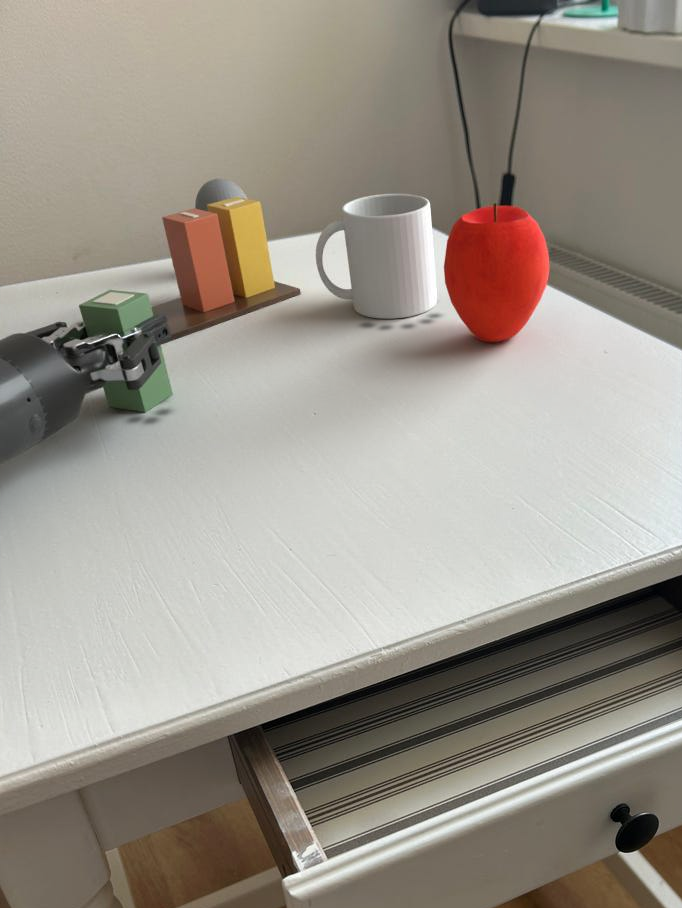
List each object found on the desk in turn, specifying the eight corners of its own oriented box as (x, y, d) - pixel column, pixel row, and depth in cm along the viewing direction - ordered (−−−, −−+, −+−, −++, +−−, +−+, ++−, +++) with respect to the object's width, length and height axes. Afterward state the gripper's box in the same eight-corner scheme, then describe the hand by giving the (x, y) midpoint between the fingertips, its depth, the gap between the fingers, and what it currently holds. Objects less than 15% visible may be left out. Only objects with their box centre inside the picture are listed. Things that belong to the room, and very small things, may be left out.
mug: (451, 295, 105) (444, 196, 99) (409, 325, 99) (400, 221, 92) (364, 285, 109) (353, 189, 103) (318, 314, 102) (303, 213, 96)
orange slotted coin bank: (182, 305, 105) (161, 216, 99) (212, 294, 107) (194, 207, 102) (203, 312, 103) (183, 221, 97) (234, 302, 105) (216, 212, 99)
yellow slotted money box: (224, 291, 108) (206, 203, 102) (253, 281, 110) (237, 195, 105) (246, 298, 106) (229, 209, 100) (275, 288, 108) (260, 200, 102)
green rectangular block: (108, 407, 86) (78, 303, 80) (137, 389, 89) (109, 288, 83) (145, 412, 85) (117, 308, 79) (173, 394, 88) (147, 292, 82)
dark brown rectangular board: (96, 331, 102) (95, 325, 101) (251, 279, 113) (250, 273, 112) (144, 350, 97) (143, 344, 96) (301, 293, 108) (300, 288, 108)
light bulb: (244, 259, 119) (227, 170, 113) (269, 269, 116) (253, 178, 109) (200, 270, 116) (180, 180, 110) (224, 281, 113) (205, 188, 106)
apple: (550, 355, 91) (549, 216, 83) (444, 358, 91) (434, 221, 84) (549, 317, 99) (548, 187, 91) (452, 320, 99) (443, 191, 92)
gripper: (59, 364, 68) (202, 285, 81) (-91, 344, 73) (66, 272, 85) (90, 461, 73) (221, 372, 85) (-53, 436, 77) (91, 355, 90)
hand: (142, 323), depth 85 cm, fingers closed on green rectangular block, 4 cm apart
